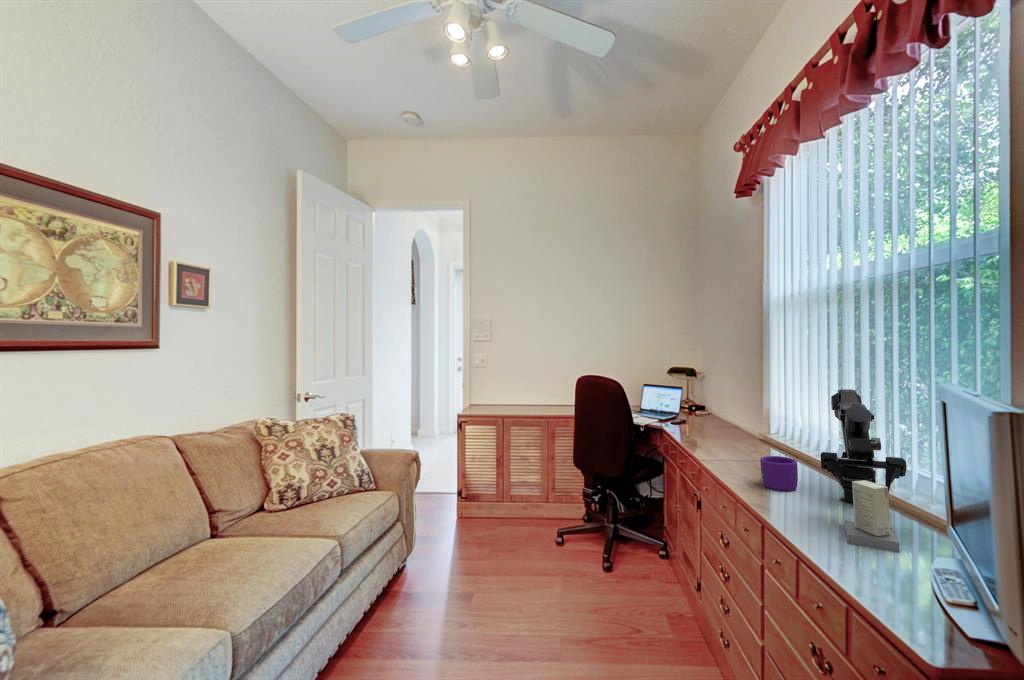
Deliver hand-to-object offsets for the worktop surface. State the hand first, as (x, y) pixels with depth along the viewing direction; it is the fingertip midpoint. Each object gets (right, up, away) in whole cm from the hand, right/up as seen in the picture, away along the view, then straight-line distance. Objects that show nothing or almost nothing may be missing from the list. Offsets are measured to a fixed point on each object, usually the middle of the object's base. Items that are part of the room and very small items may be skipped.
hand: (865, 491), depth 116 cm
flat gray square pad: (-2, -12, -5) cm, 13 cm away
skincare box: (-2, -9, -5) cm, 10 cm away
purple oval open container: (+2, -12, +40) cm, 42 cm away
